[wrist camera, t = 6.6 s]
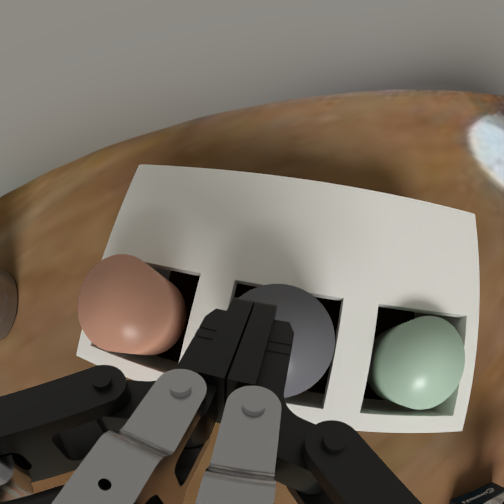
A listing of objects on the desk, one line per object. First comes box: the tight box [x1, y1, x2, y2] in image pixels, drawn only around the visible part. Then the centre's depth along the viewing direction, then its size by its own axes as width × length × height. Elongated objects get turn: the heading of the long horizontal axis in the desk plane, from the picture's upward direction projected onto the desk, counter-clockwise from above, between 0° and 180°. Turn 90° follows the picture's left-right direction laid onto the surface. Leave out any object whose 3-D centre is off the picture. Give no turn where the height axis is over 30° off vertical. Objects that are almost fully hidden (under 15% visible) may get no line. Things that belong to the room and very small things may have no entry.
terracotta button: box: [78, 254, 186, 356], centre depth 16 cm, size 5×5×4 cm
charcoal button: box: [239, 284, 335, 398], centre depth 14 cm, size 5×5×4 cm
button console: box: [76, 164, 479, 433], centre depth 20 cm, size 24×14×9 cm, turn 78°
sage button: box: [367, 316, 465, 410], centre depth 15 cm, size 5×5×4 cm
